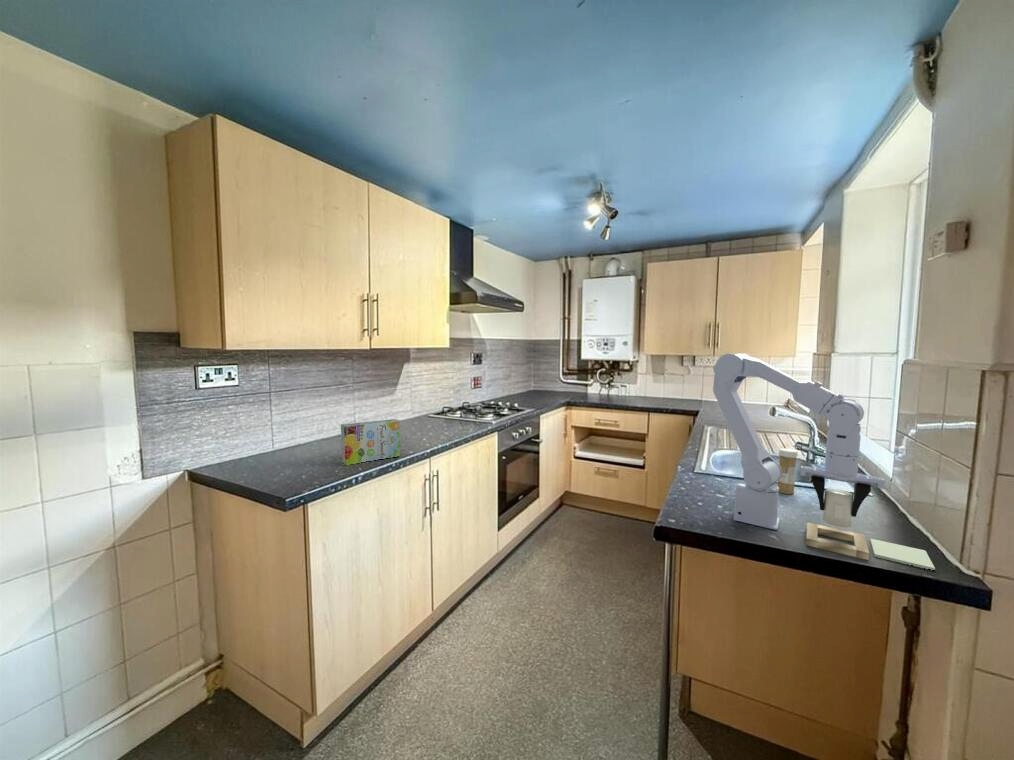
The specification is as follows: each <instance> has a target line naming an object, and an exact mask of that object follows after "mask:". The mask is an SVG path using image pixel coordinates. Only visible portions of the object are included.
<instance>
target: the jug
mask: <svg viewBox="0 0 1014 760" xmlns="http://www.w3.org/2000/svg"><path fill="white" fill-rule="evenodd" d="M853 498H854V493H852V492H849V491H845V490H842V489H837V488H824V511H823V510H822V521H823V522H824V523H826V524H828V525H831V526H834V527H837V528H850V527H851V526H852V518H853V516H852V506H853Z"/></svg>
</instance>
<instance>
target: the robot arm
mask: <svg viewBox="0 0 1014 760" xmlns="http://www.w3.org/2000/svg"><path fill="white" fill-rule="evenodd" d="M713 374H714V375H713V376H714V377H713V378H714V379H713V386H712V391H713V394H714V396H715V399H716V401H717V403H718V405H719V407H720V409H721V412H722V414H723V417H724V418H725V420H726V423H727V425H728V426H729V429H730V431H731V434H732V436H733V437H734V438H733V439H734V440H735V442H736V444H737V446H738V448H739V451H740V453H741V457H740V458H741V459H740V464H741V467H742V468H743V472H742V477H743V479H744V483H737V484H736V488H735V494H734V506H733V521H736V522H741V523H744V524H750V525H754V526H756V527H761V528H765V529H771V530H775V531H778V530H779V529H778V528H779V524H780V518H779V517H778V510H779V509H778V507H779V496H780V495H779V493H780V492H779V487H778V480H780V478H781V477H782V469H781V467H780V465H779V462H778V461H775V459H774V458H773V457H772V455H771V453H770V452H769V451H768V450H767V449H765V447H764V446H763V444H762V442H761V439H760V438H759V436H758V433H757V431H756V429H755V427H754V425H753V423H752V421H751V419H750V416H749V415H748V412H747V410H746V408H745V405H744V404H743V401H742V400H741V398H740V395H739V393H738V389H739V388H740V386H741V384H742V383H743V381H744V380H745V379H746V378H752V377H753V378H760V379H762V380H764V381H767V382H768V383H770V384H773V385H774V386H775V387H779V388H781V390H785V391H786V392H788V393H790V394H791V396H792V398H793V400H794V402H796V403H798V404H799V405H801V406H803V407H805V408H807V409H809V410H810V411H811V412H812V411H813V412H815V413H816V414H818V415H820V416H823V417H825V418H826V420H827V423H828V431H827V434H826V445H825V447H826V448H825V458H824V459H825V460H824V467H820V466H819V467H817V466H807V465H801V466H800V476H802V477H810V478H811V479H810V480H811V483H812V485H813V488H814V491H815V493H816V495H817V499H818V502H819V503H818V504H819V510H820V511H822V512H823V511H824V496H825V489H826V488H825V486H826V484H825V483H826V480H831V481H836V482H843V483H850V484H854V485H853V506H852V518H857V513H858V512H859V509H860V507H861V505H862V504H863V502H864V500H865V499H866V498H867V497H868V496H869V495H870V493H871V491H872V488H871V487H873V488H874V487H875V488H877V489H880V490H884V489H885V482H886V481H885V478H884V477H879V476H873V475H869V474H863V473H858V472H859V471H858V470H859V457H860V449H861V447H860V446H861V438H862V437H861V429H862V427H861V423H860V422H861V421H862V420H863V419H864V417H865V410H864V408H863V406H862V405H861V404H860V403H858V402H857V401H856V400H855V399H852V398H845V395H844V394H842V393H839V394H838V393H835V392H833V391H832V390H829V389H827V388H825V387H823V383H822V382H820V381H815V382H814V381H812V380H806V381H799V379H796V378H794V377H792V376H790V374H787V373H786V372H783V371H782V370H780V369H778V368H776V367H774V366H773V365H771V364H769V363H767V362H765V361H763V360H761V359H760V358H756V357H754V356H753V357H752V356H750V355H749V354H747V353H744V352H741V353H725V354H723V355H721V356H720V357H719V358H718V359H717V360H716V363H715V365H714V366H713Z"/></svg>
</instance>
